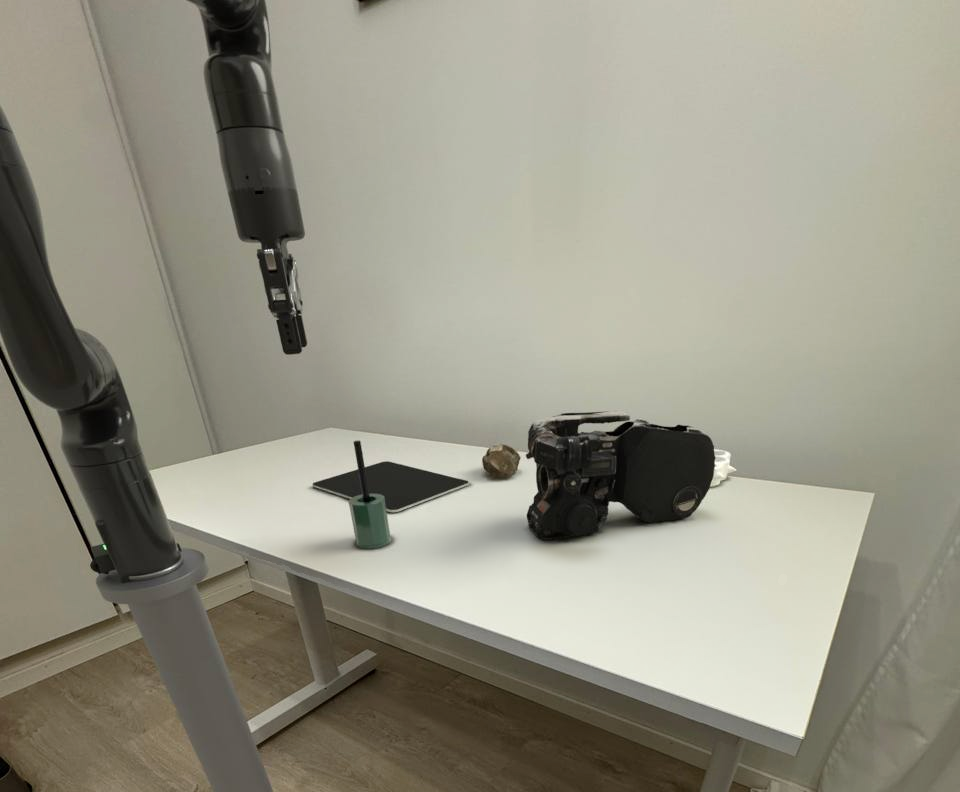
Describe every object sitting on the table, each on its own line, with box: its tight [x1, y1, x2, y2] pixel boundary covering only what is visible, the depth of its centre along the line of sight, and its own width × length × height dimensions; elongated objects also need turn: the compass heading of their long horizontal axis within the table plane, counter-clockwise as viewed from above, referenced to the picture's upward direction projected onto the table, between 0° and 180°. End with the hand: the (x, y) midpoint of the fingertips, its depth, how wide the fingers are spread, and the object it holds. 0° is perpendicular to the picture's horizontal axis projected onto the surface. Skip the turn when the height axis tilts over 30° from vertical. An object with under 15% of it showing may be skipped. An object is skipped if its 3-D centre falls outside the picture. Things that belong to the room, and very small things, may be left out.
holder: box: [348, 494, 392, 550], centre depth 86 cm, size 5×6×7 cm
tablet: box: [312, 460, 469, 513], centre depth 112 cm, size 27×1×20 cm
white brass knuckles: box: [710, 449, 737, 488], centre depth 106 cm, size 3×18×15 cm
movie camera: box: [525, 410, 716, 541], centre depth 84 cm, size 31×18×18 cm, turn 100°
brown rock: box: [481, 443, 521, 478], centre depth 114 cm, size 8×7×10 cm
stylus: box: [353, 440, 370, 503], centre depth 84 cm, size 1×1×15 cm
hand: (296, 350), depth 71 cm, fingers open, 8 cm apart
